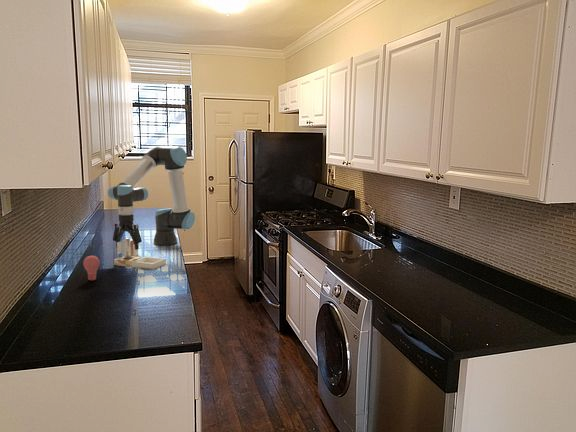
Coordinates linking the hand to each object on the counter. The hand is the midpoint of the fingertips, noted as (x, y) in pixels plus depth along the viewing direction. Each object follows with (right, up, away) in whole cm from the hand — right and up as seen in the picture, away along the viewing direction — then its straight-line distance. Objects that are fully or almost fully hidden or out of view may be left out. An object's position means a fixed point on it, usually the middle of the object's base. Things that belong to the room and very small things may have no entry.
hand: (127, 254), depth 238 cm
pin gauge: (0, -5, +1) cm, 5 cm away
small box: (-4, -3, +15) cm, 15 cm away
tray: (+13, -6, -2) cm, 14 cm away
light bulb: (-6, -10, -30) cm, 32 cm away
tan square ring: (0, -5, +1) cm, 5 cm away
